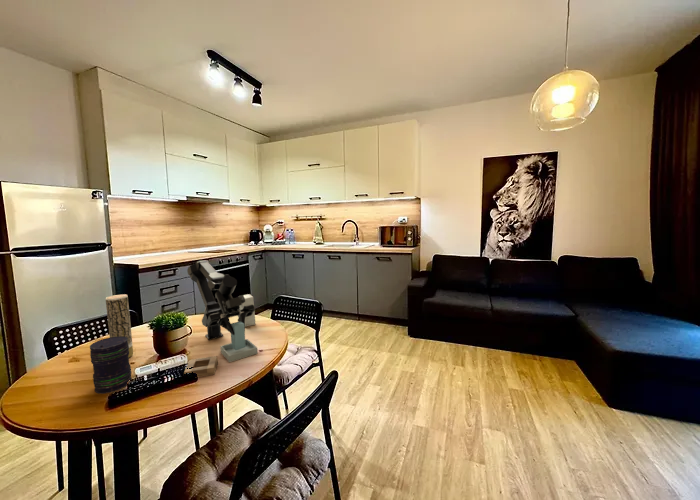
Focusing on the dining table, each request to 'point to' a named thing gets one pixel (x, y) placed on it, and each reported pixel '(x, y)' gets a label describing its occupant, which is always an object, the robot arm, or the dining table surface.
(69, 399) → the dining table surface
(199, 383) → the dining table surface
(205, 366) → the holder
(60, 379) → the dining table surface
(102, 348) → the dark grey cylinder
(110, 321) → the bark covered log
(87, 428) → the dining table surface
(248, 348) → the tray
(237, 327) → the peg
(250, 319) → the skincare box
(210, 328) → the robot arm
